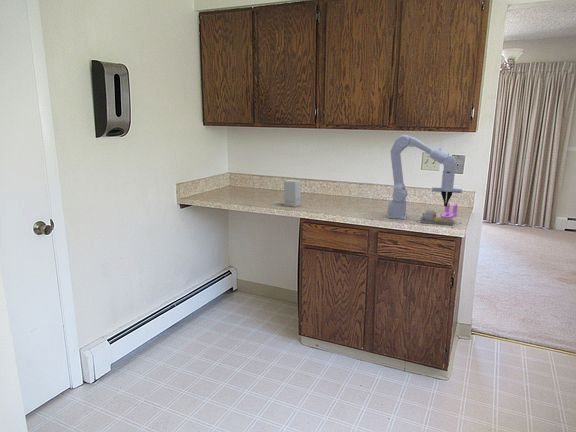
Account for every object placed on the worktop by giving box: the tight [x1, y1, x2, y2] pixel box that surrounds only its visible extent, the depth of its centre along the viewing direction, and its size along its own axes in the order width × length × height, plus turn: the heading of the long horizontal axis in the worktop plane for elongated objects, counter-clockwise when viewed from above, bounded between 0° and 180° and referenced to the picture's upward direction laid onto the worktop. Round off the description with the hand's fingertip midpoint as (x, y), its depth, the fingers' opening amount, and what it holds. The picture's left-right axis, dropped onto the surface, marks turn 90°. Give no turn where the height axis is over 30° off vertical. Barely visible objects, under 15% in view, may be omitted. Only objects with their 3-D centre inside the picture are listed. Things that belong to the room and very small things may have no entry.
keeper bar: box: [434, 217, 454, 223], centre depth 222 cm, size 9×1×2 cm, turn 69°
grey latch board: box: [419, 216, 454, 227], centre depth 227 cm, size 16×12×4 cm
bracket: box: [440, 202, 458, 219], centre depth 239 cm, size 13×6×7 cm, turn 145°
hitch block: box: [420, 209, 435, 221], centre depth 229 cm, size 12×6×5 cm, turn 69°
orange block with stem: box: [421, 211, 437, 219], centre depth 230 cm, size 7×5×3 cm
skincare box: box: [283, 179, 302, 208], centre depth 263 cm, size 8×7×16 cm
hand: (445, 206), depth 225 cm, fingers closed
